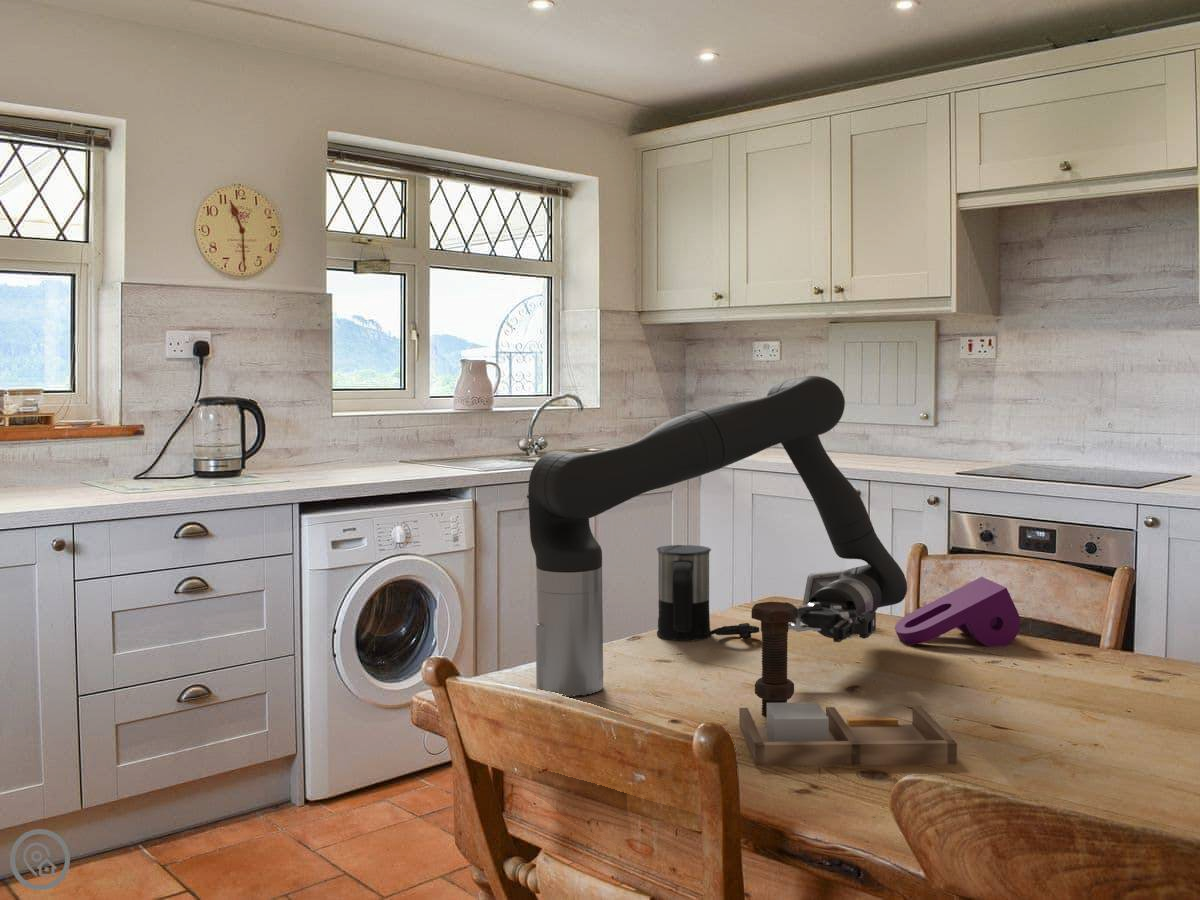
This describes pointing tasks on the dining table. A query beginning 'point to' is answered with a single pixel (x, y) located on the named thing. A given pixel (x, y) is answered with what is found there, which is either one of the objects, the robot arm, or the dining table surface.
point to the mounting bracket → (965, 616)
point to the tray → (856, 742)
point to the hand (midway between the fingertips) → (804, 631)
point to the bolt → (774, 652)
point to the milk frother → (688, 595)
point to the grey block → (796, 722)
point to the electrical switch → (819, 583)
